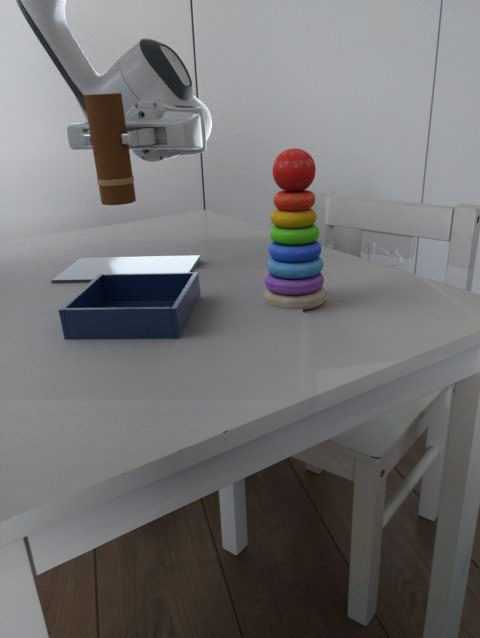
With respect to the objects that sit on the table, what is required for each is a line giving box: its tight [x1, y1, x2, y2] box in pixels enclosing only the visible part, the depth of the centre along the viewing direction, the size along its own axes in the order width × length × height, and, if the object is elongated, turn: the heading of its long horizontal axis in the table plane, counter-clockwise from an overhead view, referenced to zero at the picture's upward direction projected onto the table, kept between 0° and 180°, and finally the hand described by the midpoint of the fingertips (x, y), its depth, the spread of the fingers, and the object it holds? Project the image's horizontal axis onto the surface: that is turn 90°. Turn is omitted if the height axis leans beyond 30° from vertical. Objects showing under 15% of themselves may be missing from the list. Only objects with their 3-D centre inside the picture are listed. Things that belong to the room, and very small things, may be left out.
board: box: [50, 254, 202, 284], centre depth 88 cm, size 20×12×1 cm, turn 85°
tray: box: [58, 271, 202, 341], centre depth 69 cm, size 13×13×4 cm
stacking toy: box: [263, 147, 327, 311], centre depth 69 cm, size 8×8×19 cm
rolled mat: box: [84, 93, 137, 206], centre depth 78 cm, size 5×5×14 cm
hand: (106, 139), depth 77 cm, fingers closed on rolled mat, 5 cm apart
